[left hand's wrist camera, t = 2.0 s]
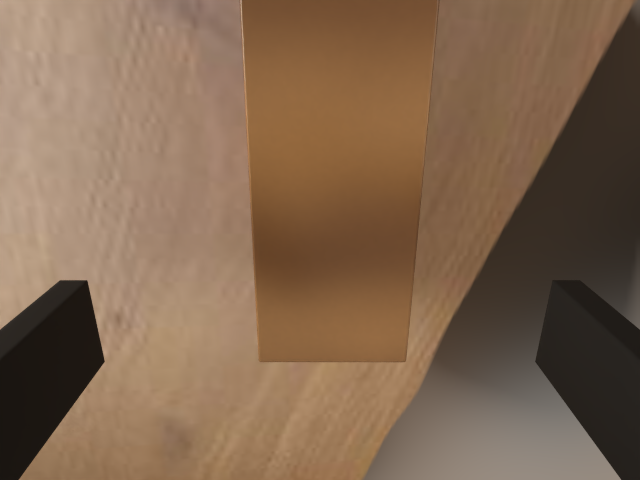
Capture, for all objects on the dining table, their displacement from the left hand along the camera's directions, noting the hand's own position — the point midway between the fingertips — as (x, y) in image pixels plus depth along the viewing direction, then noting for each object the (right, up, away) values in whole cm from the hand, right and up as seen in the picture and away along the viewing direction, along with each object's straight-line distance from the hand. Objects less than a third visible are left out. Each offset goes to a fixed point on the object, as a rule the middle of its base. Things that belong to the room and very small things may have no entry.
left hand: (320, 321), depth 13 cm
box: (+1, +13, +10) cm, 17 cm away
